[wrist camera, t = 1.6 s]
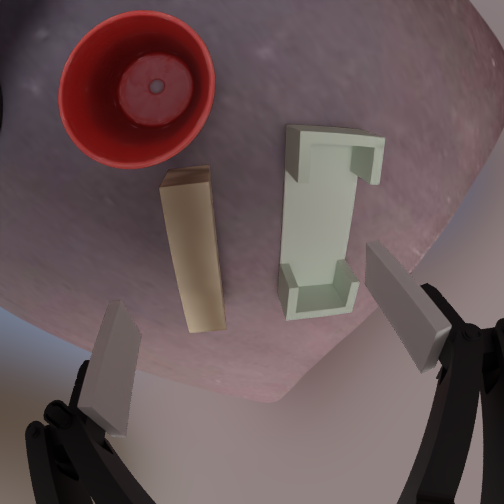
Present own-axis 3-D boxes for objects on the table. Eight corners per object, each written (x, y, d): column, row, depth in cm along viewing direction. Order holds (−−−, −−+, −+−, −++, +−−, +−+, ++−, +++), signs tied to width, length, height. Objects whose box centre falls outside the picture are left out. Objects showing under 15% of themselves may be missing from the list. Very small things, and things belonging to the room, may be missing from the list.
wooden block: (191, 297, 36) (189, 332, 31) (169, 168, 28) (159, 187, 22) (223, 294, 36) (226, 329, 31) (209, 164, 28) (208, 181, 23)
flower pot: (211, 27, 21) (210, -4, 12) (218, 136, 26) (221, 158, 18) (100, 48, 20) (52, 35, 12) (112, 152, 26) (71, 183, 17)
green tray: (277, 292, 37) (286, 320, 32) (286, 124, 26) (300, 130, 22) (337, 287, 38) (351, 312, 33) (360, 129, 27) (385, 137, 23)
